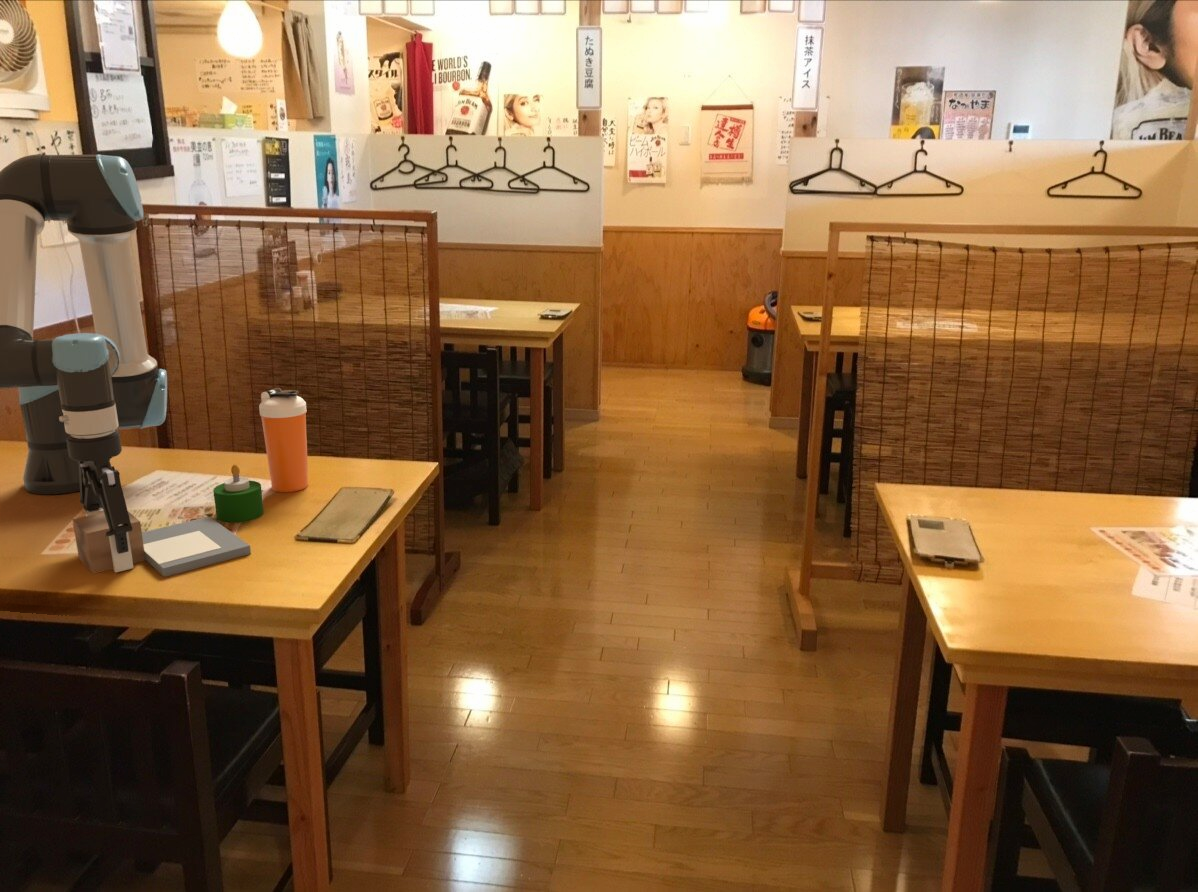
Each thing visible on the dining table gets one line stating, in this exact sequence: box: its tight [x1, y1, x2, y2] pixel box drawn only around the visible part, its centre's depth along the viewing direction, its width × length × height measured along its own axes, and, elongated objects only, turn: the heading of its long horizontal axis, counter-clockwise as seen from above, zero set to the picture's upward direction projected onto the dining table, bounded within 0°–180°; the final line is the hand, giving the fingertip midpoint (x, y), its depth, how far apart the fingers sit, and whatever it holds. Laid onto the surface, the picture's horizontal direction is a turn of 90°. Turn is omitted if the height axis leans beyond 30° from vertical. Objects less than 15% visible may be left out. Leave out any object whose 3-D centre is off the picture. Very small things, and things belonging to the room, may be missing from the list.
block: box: [72, 511, 146, 574], centre depth 154 cm, size 8×8×7 cm
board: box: [142, 516, 252, 578], centre depth 159 cm, size 18×14×2 cm
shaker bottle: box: [258, 387, 309, 493], centre depth 187 cm, size 9×9×20 cm
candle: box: [213, 463, 265, 524], centre depth 173 cm, size 8×8×10 cm
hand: (112, 558), depth 154 cm, fingers open, 12 cm apart
